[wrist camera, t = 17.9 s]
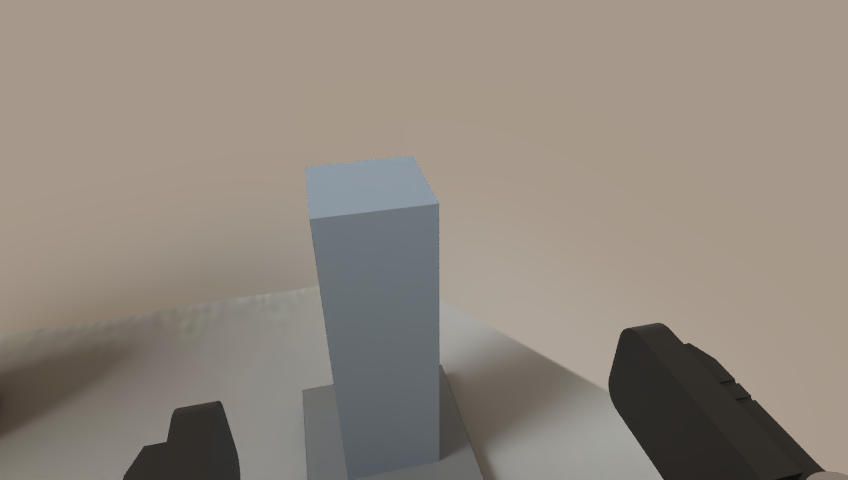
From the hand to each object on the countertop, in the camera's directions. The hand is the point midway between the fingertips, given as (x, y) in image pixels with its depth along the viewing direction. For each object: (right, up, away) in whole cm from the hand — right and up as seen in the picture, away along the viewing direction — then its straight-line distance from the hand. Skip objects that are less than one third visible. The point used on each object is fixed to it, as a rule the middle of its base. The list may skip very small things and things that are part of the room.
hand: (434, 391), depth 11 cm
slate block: (-2, -7, +16) cm, 18 cm away
